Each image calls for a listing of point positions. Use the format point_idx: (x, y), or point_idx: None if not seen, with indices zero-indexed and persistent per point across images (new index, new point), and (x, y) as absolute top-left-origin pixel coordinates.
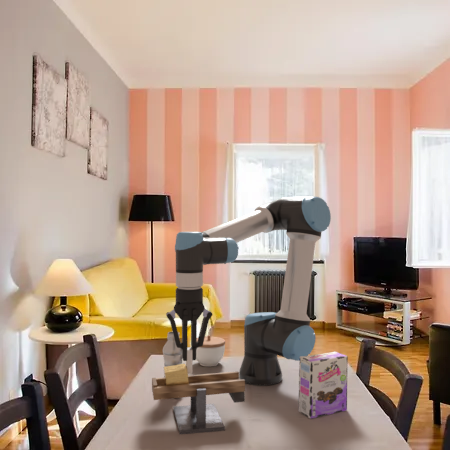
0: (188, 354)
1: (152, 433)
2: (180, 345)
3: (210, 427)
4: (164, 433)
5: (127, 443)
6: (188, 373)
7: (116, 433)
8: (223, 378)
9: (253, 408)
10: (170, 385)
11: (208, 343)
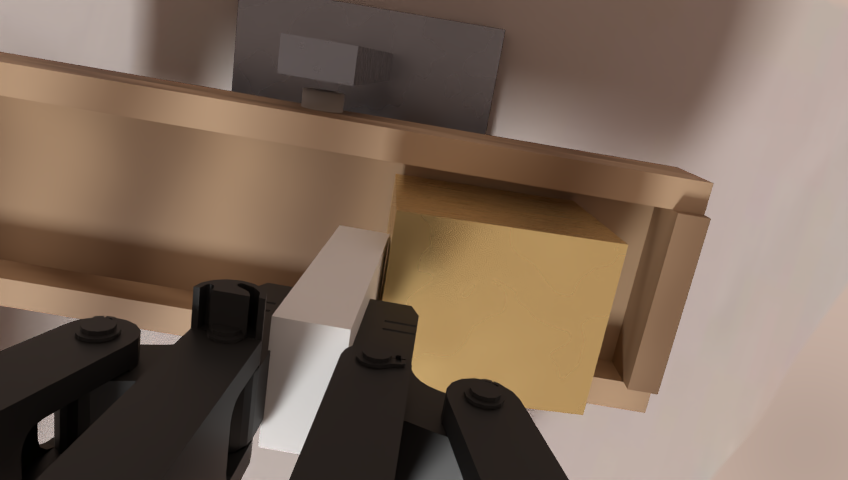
0: (345, 300)
1: (642, 97)
2: (454, 391)
3: (323, 4)
4: (579, 73)
5: (810, 22)
6: (378, 232)
7: (825, 167)
8: (72, 272)
9: None
10: (553, 204)
11: None
